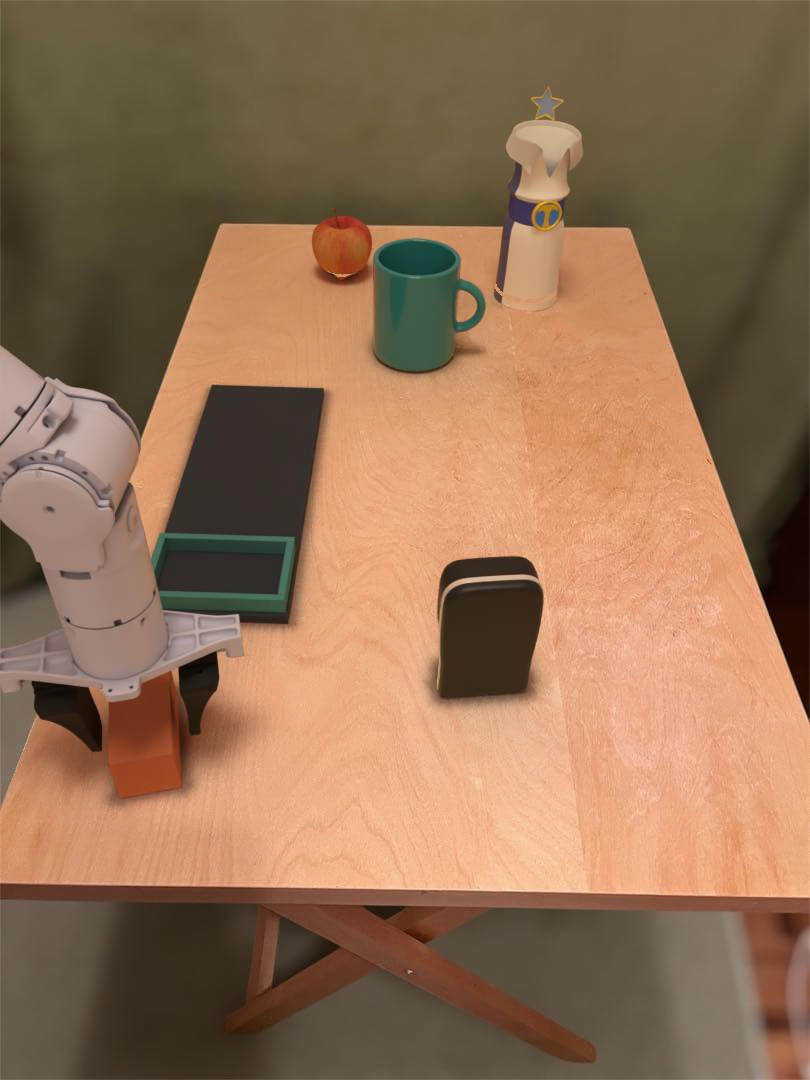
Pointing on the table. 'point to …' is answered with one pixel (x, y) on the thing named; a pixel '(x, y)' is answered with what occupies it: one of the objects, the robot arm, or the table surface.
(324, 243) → the apple
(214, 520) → the back pad
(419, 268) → the cup
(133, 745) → the pad piece
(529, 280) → the white trophy figurine
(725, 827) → the table surface
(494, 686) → the battery charger
